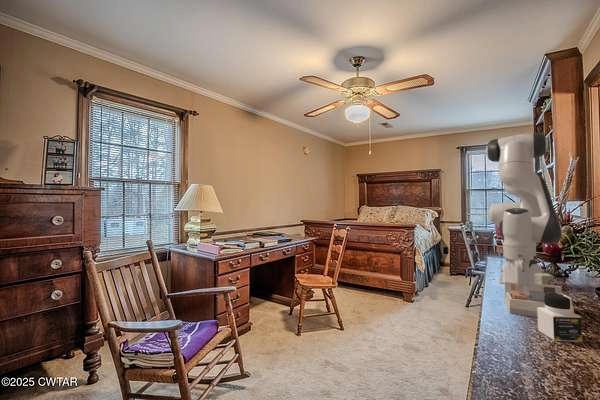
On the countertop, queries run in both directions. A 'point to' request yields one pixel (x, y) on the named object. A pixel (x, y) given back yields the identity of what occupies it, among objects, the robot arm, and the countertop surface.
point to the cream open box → (527, 306)
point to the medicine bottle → (559, 319)
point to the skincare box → (544, 279)
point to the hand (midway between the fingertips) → (519, 291)
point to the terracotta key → (519, 296)
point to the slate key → (536, 296)
